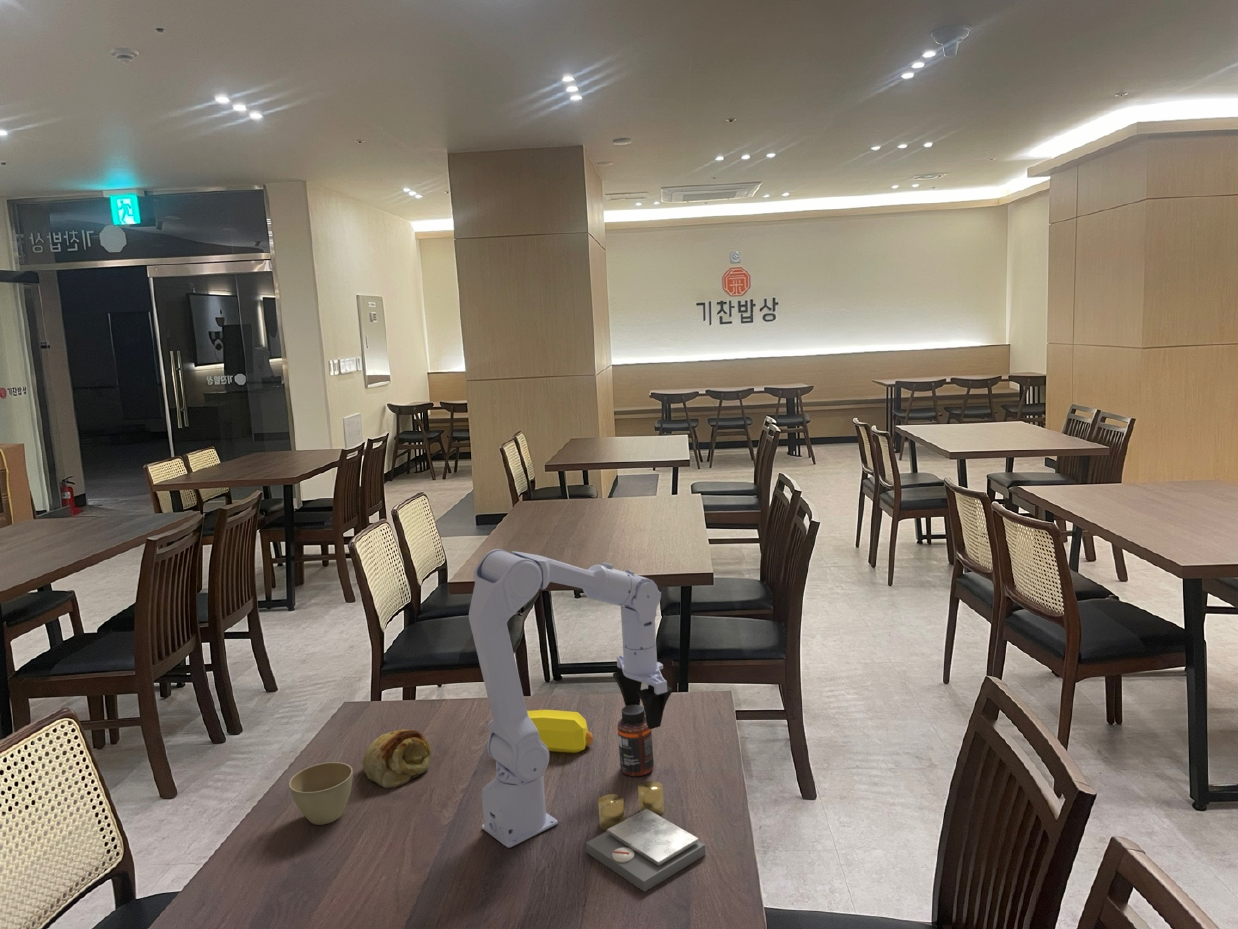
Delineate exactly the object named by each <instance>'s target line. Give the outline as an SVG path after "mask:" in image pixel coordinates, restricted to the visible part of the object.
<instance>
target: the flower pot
mask: <svg viewBox="0 0 1238 929" xmlns="http://www.w3.org/2000/svg"><path fill="white" fill-rule="evenodd" d="M353 772H354V771H353V767H352V766H350V765H349V764H347V763H344V762H340V761H338V762H337V761H335V762H334V761H330V762H322V763H318V764H313V765H311V766H308V767H305V768H304V769H301V770H300V771H298V772H297V773H296V774H294V775H293V776H292V777H291V778H290V779H289V782H288V786H289V790H290V794H291V797H292V799H293V801H294V803H295V805H296V807H297V808H298V810H299V811H300V813H302V815H303V816H304V817H305V819H307V820H308V821H309V822H310V823H311V824H313V825H317V826H318V825H327V824H331V823H334V822H335V821H337V820H338V819H340V818H341V816H342V814H343V813H344V810H346V806H347V804H348V801H349V798H350V795H351V790H352V786H353V778H354V777H353V776H354V774H353Z"/></svg>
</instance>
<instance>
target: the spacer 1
mask: <svg viewBox="0 0 1238 929" xmlns="http://www.w3.org/2000/svg"><path fill="white" fill-rule="evenodd" d="M624 801H625V800H624V798H623V796H622V795H619V794H616V793H615V794H614V793H613V794H612V793H610V794H609V793H608V794H605V795H603V796H600V798H598V800H597V805H598V806H597V808H598V818H599V827H600V829H602V830H603V831H605V832H607V829H609V828H611V827H613V826H615V825H617V824H618V823H620V822H622V821H624V820H626V819H625V818H626V817H625V802H624Z"/></svg>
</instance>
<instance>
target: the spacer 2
mask: <svg viewBox="0 0 1238 929" xmlns="http://www.w3.org/2000/svg"><path fill="white" fill-rule="evenodd" d="M637 795H638V810H639V812H641V811H643V810H645V809H648V810H650V811H652V812H653V813H655V814H657V815H659V816H661V815H662V814H663V813H665V812H664V811H665V804H664V803H665V802H664V786H663V784H662V783H661V782H658V781H655V780H648V781H644V782H641V783H639V785H638V787H637ZM639 812H638V813H639Z"/></svg>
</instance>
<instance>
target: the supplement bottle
mask: <svg viewBox="0 0 1238 929" xmlns="http://www.w3.org/2000/svg"><path fill="white" fill-rule="evenodd" d="M616 727H617V738H618V739H617V740H618V750H619V752H618V753H619V764H620V770H621V772H622V773H623V774H625V776H626V775H627V776H630V777H642V776H645V775H647V774H649V773H651V772H652V771H653V769H654V764H655V763H654V749H653V748H654V747H653V734H652V729H649V728H648V726H647V722H646V716H645V710H644V706H643V705H641V704H640V705H628V706H625V705H624V707H622V708H621V719H619V721H618V722H617V726H616Z"/></svg>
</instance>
